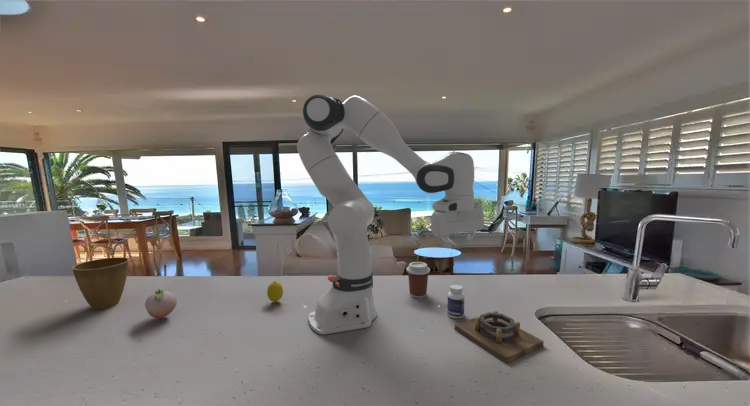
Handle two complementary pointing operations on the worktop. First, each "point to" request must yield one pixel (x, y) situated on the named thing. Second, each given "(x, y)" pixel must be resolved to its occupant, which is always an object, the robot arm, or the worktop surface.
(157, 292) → the decorative fruit
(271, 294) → the lemon
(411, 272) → the coffee cup
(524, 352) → the collar stand
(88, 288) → the plant pot
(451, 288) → the pill bottle
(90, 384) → the worktop surface
